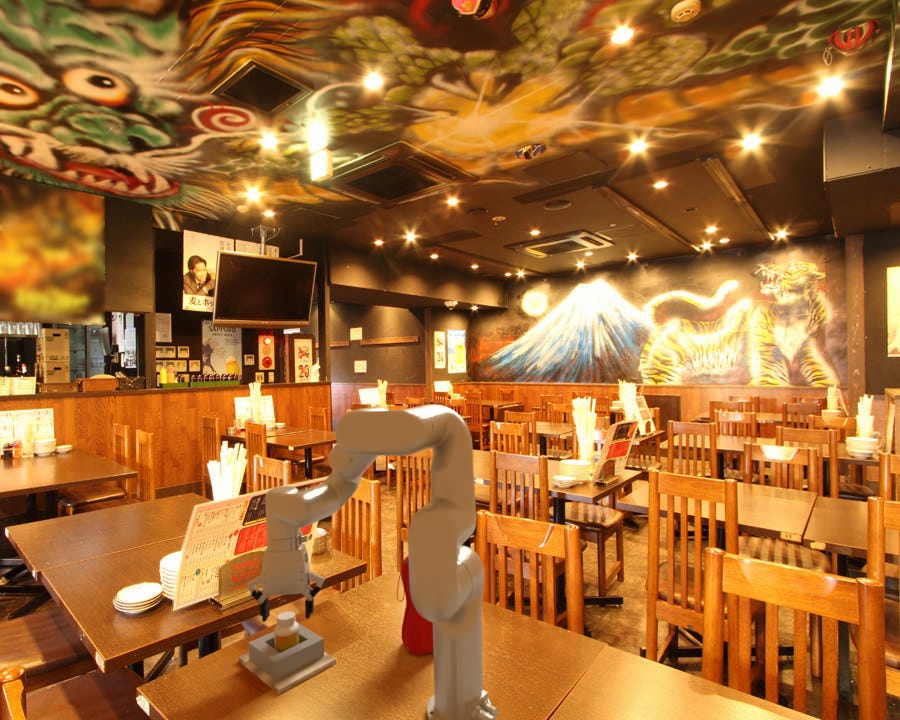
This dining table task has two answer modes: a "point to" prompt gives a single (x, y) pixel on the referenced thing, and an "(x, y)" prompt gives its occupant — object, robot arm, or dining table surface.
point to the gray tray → (292, 678)
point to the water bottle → (414, 620)
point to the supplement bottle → (286, 632)
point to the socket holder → (285, 653)
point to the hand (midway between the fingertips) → (287, 617)
